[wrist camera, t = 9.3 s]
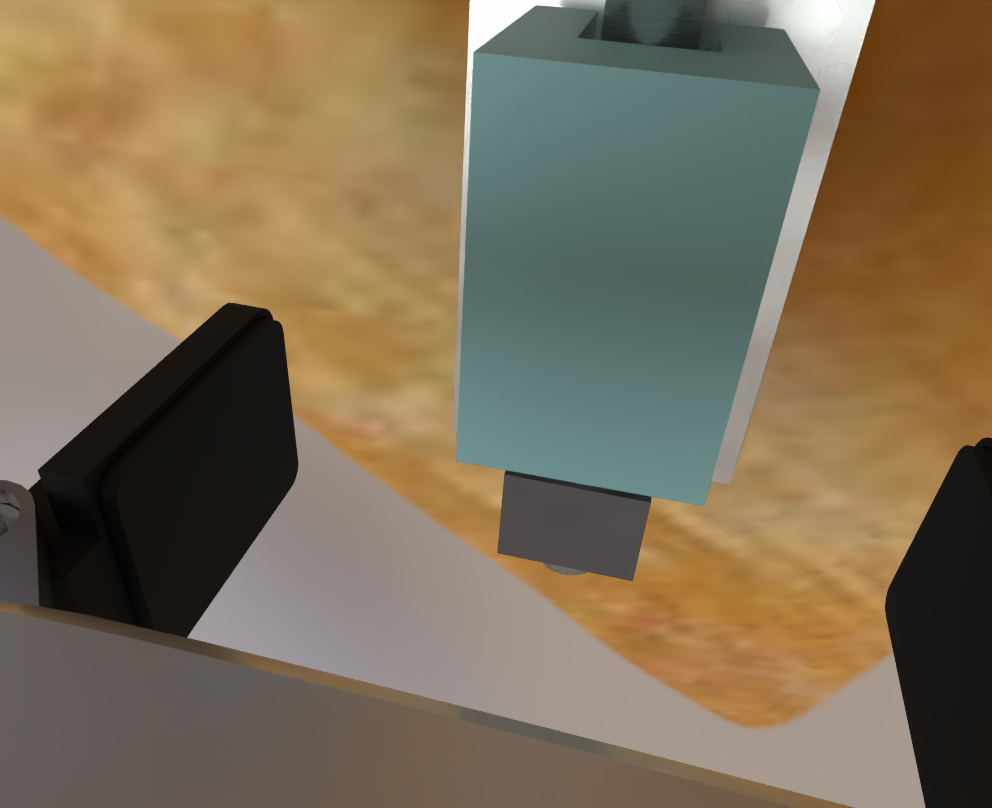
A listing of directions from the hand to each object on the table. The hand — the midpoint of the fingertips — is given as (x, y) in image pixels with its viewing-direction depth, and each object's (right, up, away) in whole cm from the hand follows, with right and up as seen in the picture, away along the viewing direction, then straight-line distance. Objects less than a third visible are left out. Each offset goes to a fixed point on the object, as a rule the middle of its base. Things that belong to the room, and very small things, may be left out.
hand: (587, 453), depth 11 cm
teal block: (+2, +6, +10) cm, 12 cm away
